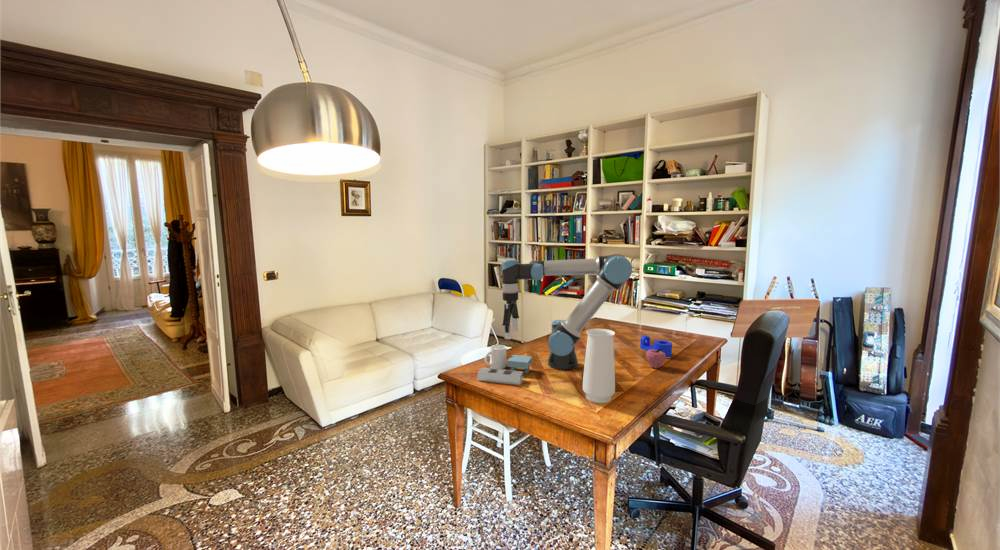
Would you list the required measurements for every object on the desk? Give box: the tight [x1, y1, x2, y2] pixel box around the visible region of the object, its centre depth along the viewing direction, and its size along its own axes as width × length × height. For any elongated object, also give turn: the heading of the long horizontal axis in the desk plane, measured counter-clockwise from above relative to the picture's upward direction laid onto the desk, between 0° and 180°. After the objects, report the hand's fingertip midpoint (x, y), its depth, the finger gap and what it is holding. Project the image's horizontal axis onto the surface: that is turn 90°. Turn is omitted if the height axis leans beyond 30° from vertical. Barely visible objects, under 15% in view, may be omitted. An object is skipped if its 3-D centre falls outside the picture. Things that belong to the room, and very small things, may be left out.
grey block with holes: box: [477, 366, 524, 386], centre depth 183 cm, size 20×6×4 cm, turn 74°
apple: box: [645, 349, 667, 369], centre depth 199 cm, size 10×9×10 cm
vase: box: [582, 327, 616, 404], centre depth 163 cm, size 13×13×28 cm
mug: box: [484, 344, 507, 370], centre depth 199 cm, size 12×8×10 cm
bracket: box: [639, 335, 673, 358], centre depth 221 cm, size 20×9×8 cm, turn 21°
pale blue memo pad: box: [506, 354, 533, 374], centre depth 194 cm, size 10×9×6 cm
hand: (511, 335), depth 193 cm, fingers open, 13 cm apart
